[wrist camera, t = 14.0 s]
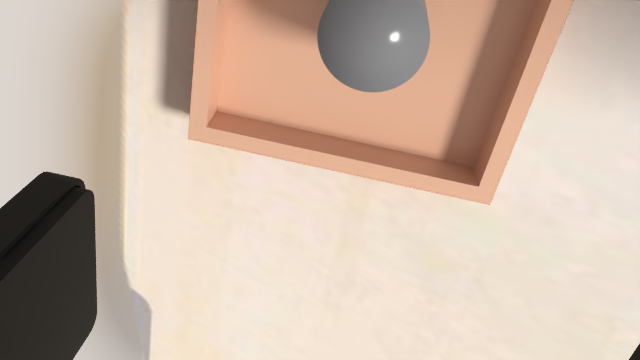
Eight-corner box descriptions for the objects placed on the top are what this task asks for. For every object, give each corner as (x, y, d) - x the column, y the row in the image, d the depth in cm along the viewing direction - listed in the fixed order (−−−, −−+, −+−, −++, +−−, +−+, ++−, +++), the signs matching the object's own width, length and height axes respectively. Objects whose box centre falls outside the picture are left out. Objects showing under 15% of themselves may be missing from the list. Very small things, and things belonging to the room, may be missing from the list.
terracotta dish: (609, -147, 26) (634, -149, 23) (482, 179, 35) (489, 205, 32) (233, -229, 26) (216, -240, 23) (202, 118, 35) (187, 138, 32)
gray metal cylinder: (437, -28, 28) (445, -4, 23) (409, 63, 31) (410, 103, 26) (343, -52, 28) (331, -33, 23) (323, 41, 31) (307, 77, 26)
